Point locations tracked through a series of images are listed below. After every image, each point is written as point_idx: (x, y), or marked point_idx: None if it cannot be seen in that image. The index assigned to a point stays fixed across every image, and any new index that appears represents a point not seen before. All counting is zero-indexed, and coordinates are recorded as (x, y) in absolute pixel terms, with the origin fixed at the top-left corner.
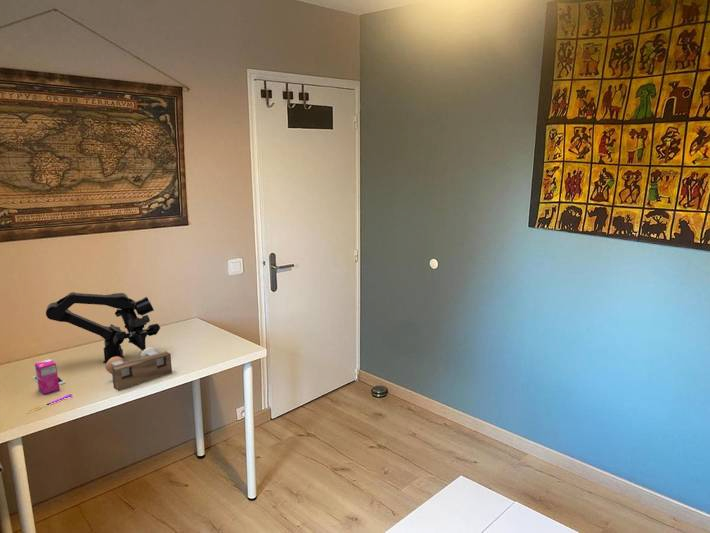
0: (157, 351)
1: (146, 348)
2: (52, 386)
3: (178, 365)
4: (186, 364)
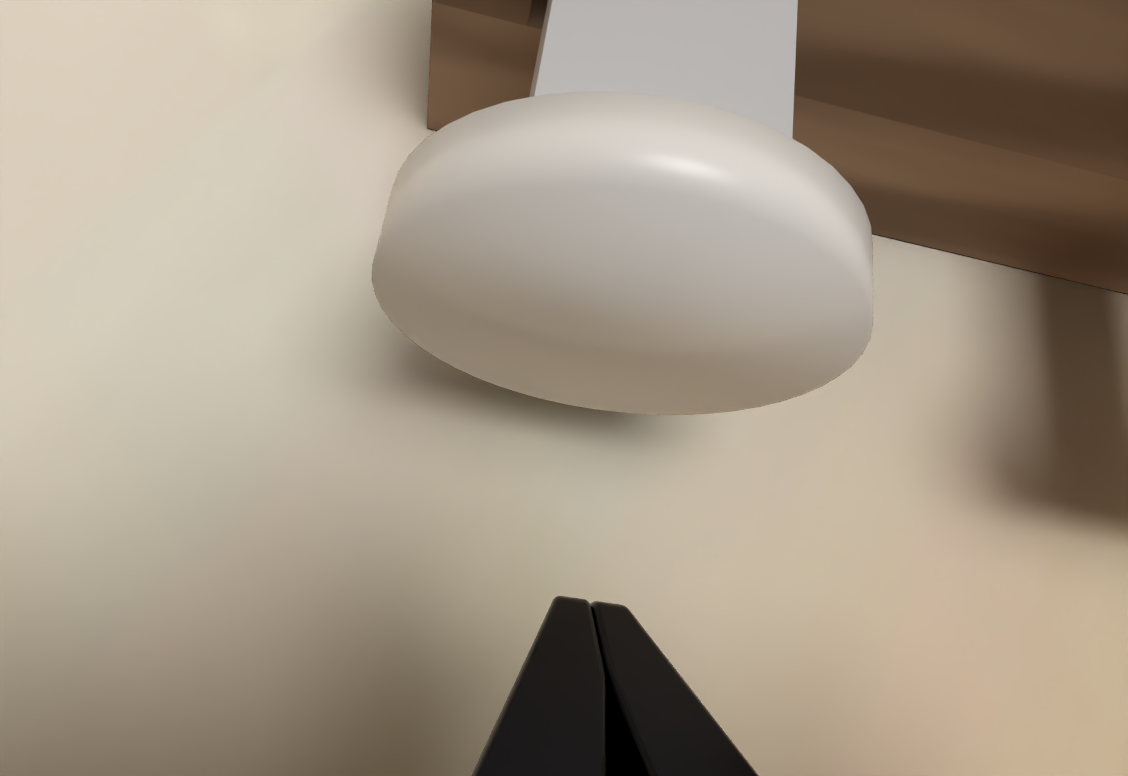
0: (408, 172)
1: (780, 193)
2: None
3: (153, 126)
4: (41, 43)
